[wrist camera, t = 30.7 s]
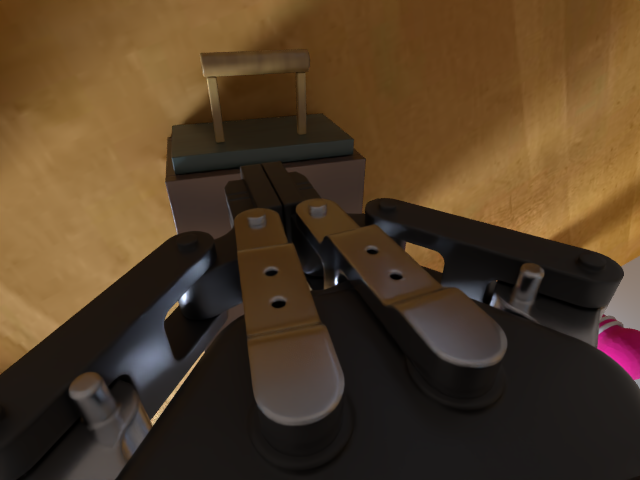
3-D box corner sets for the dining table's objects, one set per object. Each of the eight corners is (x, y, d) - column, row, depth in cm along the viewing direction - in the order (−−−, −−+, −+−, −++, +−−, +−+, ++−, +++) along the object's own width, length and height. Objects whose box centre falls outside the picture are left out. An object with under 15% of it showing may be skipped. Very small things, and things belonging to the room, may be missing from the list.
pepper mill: (505, 299, 59) (630, 415, 43) (498, 269, 54) (633, 386, 38) (546, 274, 58) (686, 381, 42) (542, 242, 54) (696, 348, 38)
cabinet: (167, 137, 32) (165, 181, 24) (325, 123, 35) (366, 158, 28) (202, 300, 41) (208, 367, 34) (324, 276, 45) (353, 332, 38)
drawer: (155, 45, 27) (150, 60, 22) (323, 40, 31) (358, 51, 25) (205, 287, 40) (210, 339, 34) (321, 265, 43) (345, 309, 37)
